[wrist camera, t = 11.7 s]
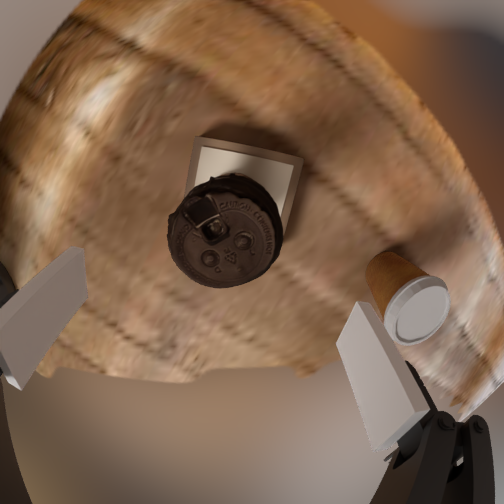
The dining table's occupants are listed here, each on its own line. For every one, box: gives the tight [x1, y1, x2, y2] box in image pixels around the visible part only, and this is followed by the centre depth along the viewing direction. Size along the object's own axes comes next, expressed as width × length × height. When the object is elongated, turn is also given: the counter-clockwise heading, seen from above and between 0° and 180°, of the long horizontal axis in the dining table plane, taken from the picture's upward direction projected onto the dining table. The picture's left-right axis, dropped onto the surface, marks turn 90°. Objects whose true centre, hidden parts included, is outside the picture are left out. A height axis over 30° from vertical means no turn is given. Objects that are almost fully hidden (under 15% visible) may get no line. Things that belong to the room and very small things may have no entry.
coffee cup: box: [167, 172, 284, 288], centre depth 24 cm, size 9×8×13 cm
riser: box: [184, 136, 304, 235], centre depth 31 cm, size 12×12×3 cm
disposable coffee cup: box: [366, 251, 451, 346], centre depth 32 cm, size 10×10×12 cm
